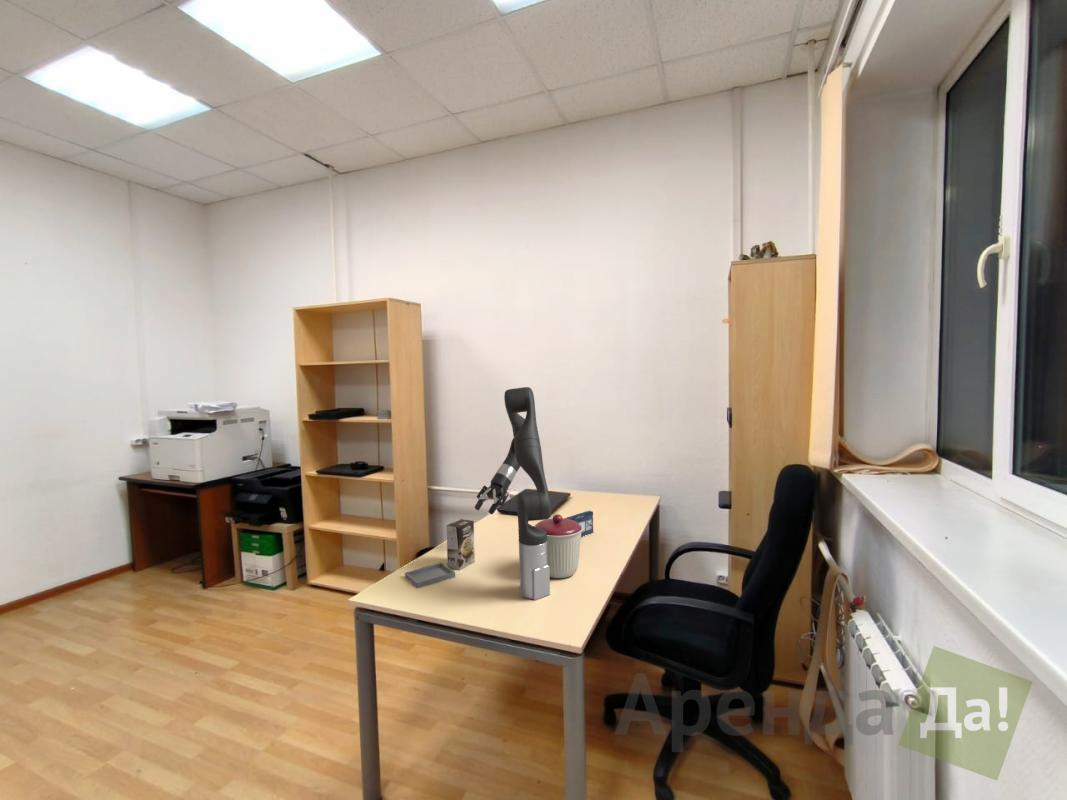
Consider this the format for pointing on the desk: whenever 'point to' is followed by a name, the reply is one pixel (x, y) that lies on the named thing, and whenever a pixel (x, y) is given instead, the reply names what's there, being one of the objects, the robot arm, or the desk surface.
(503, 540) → the desk surface
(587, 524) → the vhs cassette tape
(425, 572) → the tray
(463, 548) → the coffee box
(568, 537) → the canister
